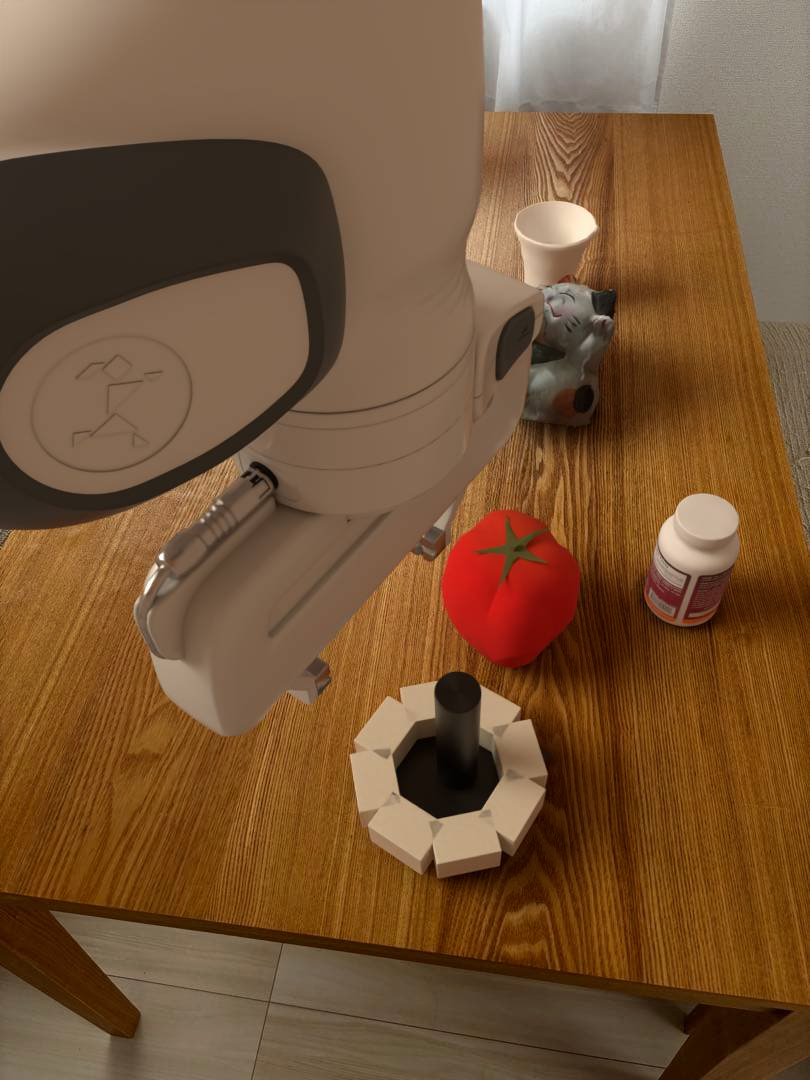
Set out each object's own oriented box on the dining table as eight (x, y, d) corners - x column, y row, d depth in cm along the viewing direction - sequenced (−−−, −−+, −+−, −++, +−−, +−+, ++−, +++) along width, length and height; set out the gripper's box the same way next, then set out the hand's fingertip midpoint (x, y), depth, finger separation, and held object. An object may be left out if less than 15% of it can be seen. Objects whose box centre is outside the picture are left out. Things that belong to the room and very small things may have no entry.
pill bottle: (717, 575, 75) (751, 491, 67) (716, 635, 72) (752, 553, 63) (644, 565, 76) (668, 480, 68) (640, 622, 73) (664, 541, 64)
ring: (478, 914, 58) (479, 900, 55) (320, 806, 63) (315, 790, 60) (572, 756, 64) (576, 738, 62) (422, 670, 69) (421, 651, 67)
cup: (578, 329, 97) (589, 250, 89) (499, 313, 100) (503, 234, 92) (598, 284, 102) (610, 206, 94) (522, 269, 105) (527, 192, 97)
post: (478, 871, 61) (483, 797, 50) (364, 793, 65) (347, 711, 54) (548, 759, 66) (566, 672, 55) (439, 694, 69) (436, 600, 59)
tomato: (444, 689, 70) (443, 619, 62) (439, 563, 78) (438, 487, 70) (584, 686, 69) (600, 615, 61) (565, 559, 77) (578, 482, 69)
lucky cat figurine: (449, 377, 93) (486, 246, 87) (543, 390, 98) (585, 266, 92) (510, 434, 81) (558, 287, 75) (614, 446, 86) (667, 308, 80)
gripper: (202, 646, 23) (277, 831, 34) (569, 273, 34) (537, 506, 44) (49, 544, 26) (164, 747, 37) (434, 225, 36) (436, 457, 47)
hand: (371, 613), depth 41 cm, fingers open, 8 cm apart
